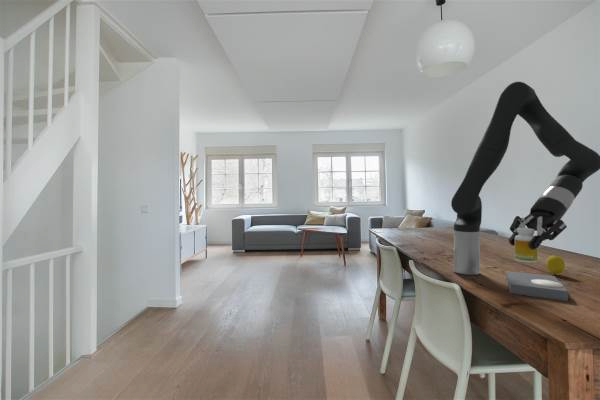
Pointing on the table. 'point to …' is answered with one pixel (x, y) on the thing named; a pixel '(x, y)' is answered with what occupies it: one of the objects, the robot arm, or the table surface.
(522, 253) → the supplement bottle
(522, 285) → the plinth
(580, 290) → the table surface
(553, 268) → the lemon
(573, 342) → the table surface
